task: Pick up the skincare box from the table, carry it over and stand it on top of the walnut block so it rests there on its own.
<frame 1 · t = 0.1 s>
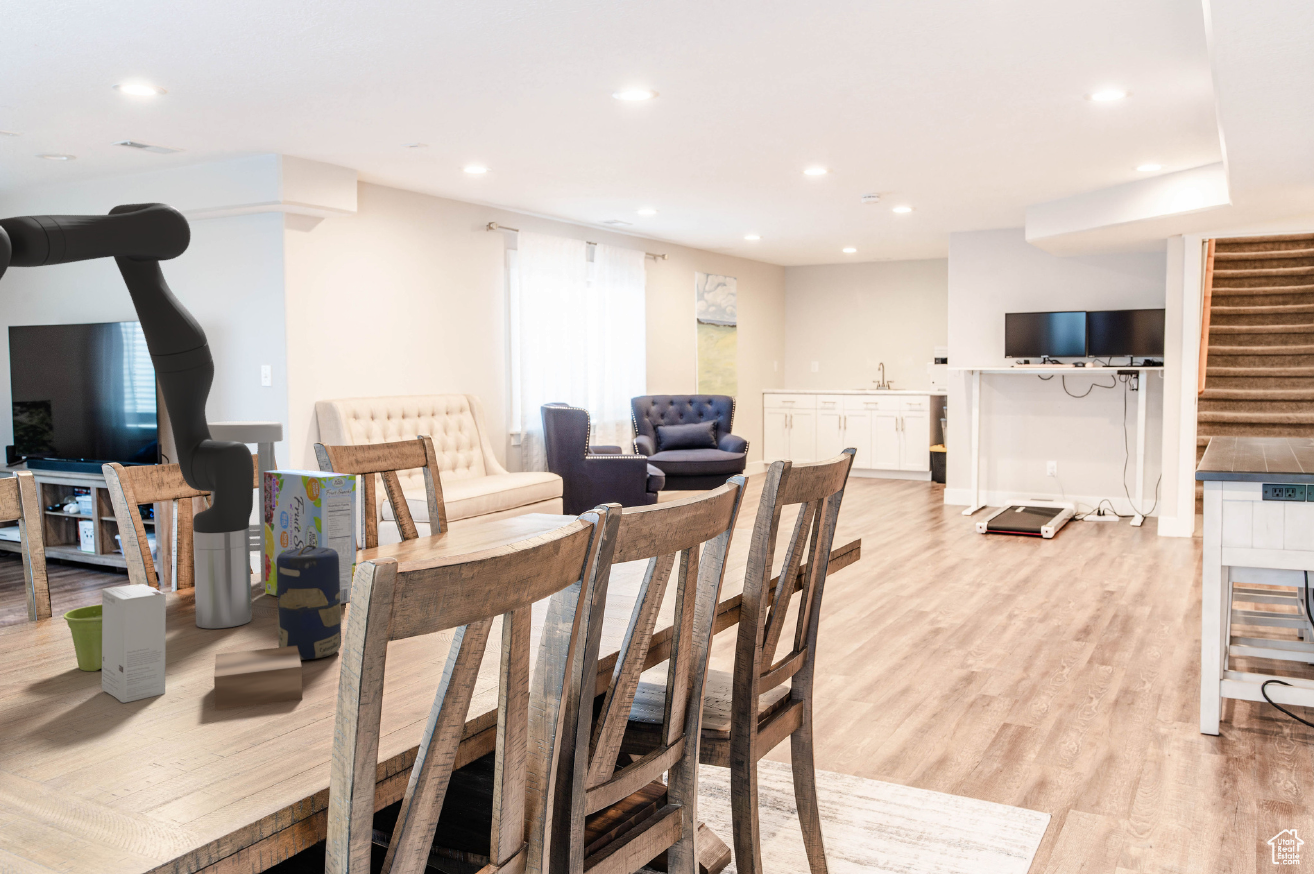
canister: (310, 656, 150), on the table
skincare box: (135, 693, 132), on the table
plant pot 2: (101, 667, 144), on the table
stool: (246, 585, 200), on the table
walnut block: (258, 694, 132), on the table
snack box: (311, 598, 189), on the table
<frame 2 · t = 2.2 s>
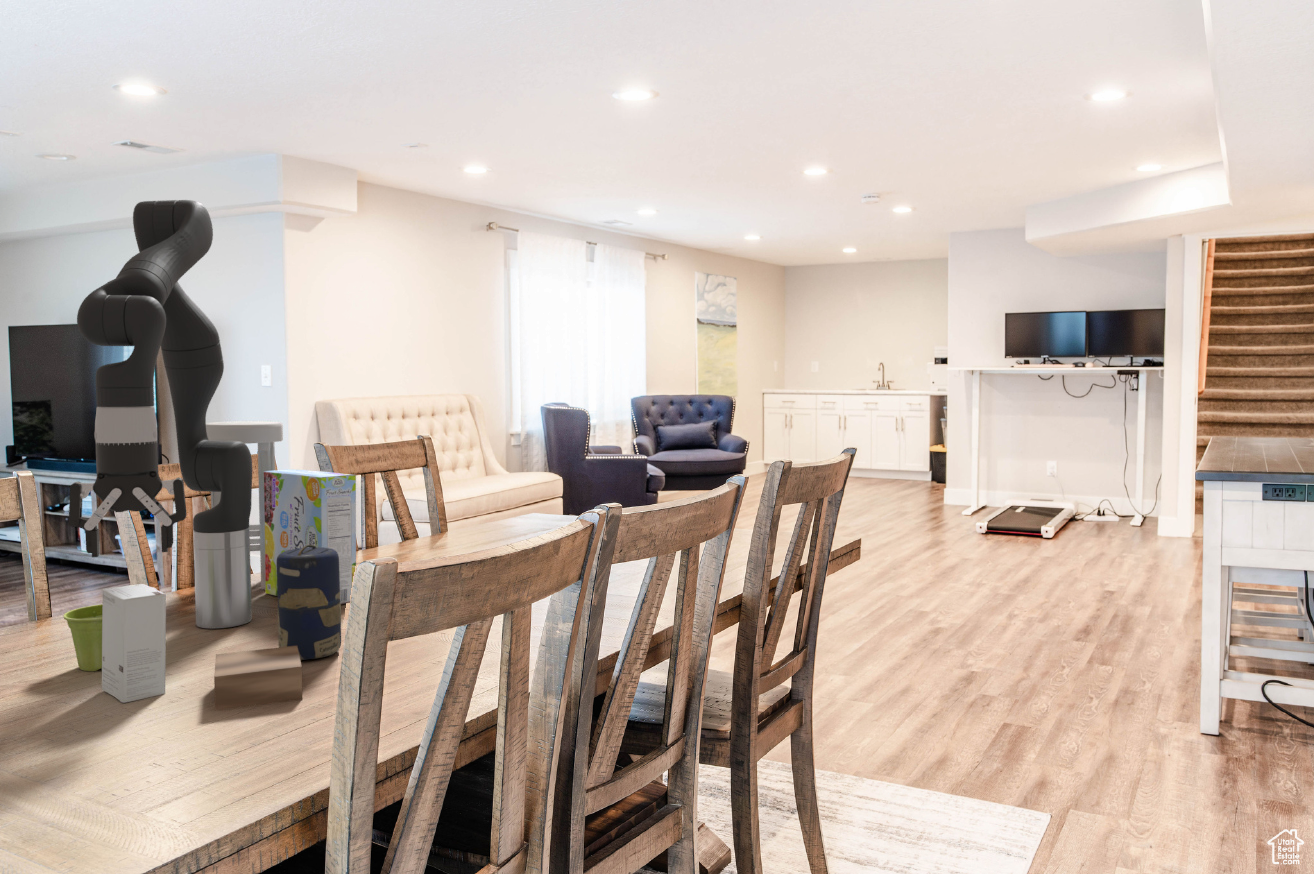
hand: (130, 553, 131), 20 cm above the table, tool pointing down, fingers open, 8 cm apart
nothing on the table moved.
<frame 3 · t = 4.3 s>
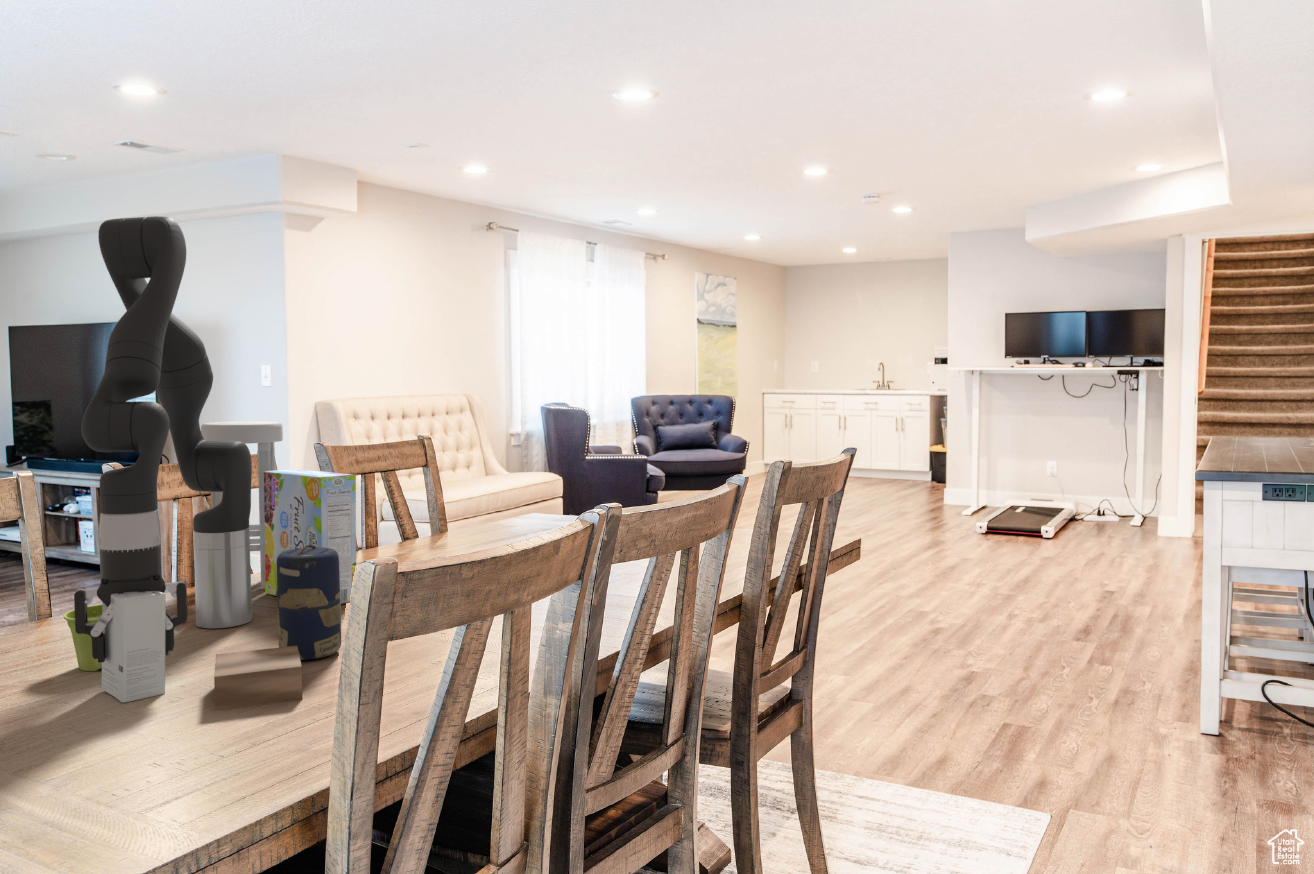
hand: (134, 657, 132), 5 cm above the table, tool pointing down, fingers closed on skincare box, 7 cm apart
skincare box: (135, 693, 132), on the table, touching gripper
everything else where it was.
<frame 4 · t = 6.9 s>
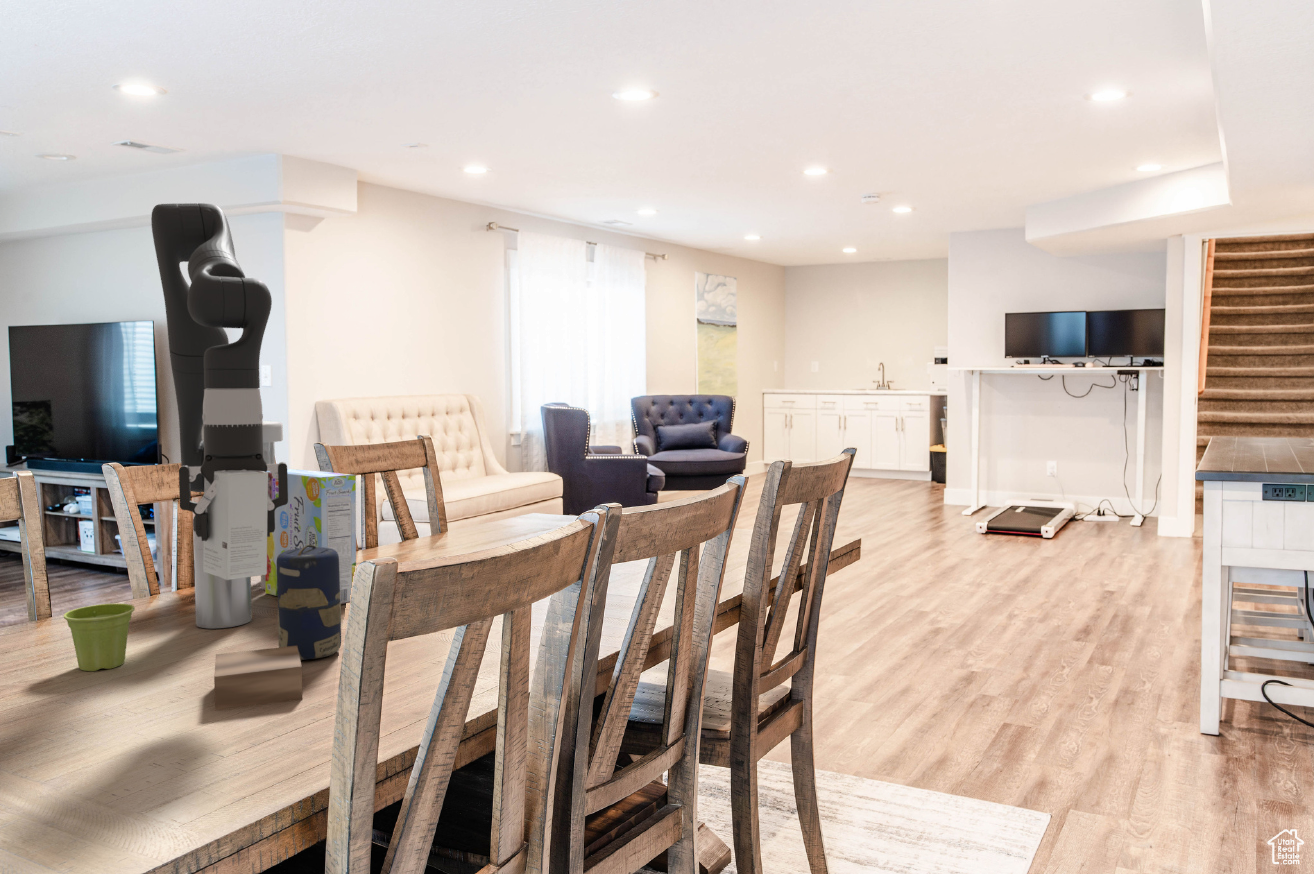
hand: (236, 537, 130), 22 cm above the table, tool pointing down, fingers closed on skincare box, 7 cm apart
skincare box: (236, 575, 130), point 17 cm above the table, touching gripper
everything else where it was.
when the fingers open (11 cm above the table, at t = 9.8 s): skincare box drops 1 cm, resting on walnut block.
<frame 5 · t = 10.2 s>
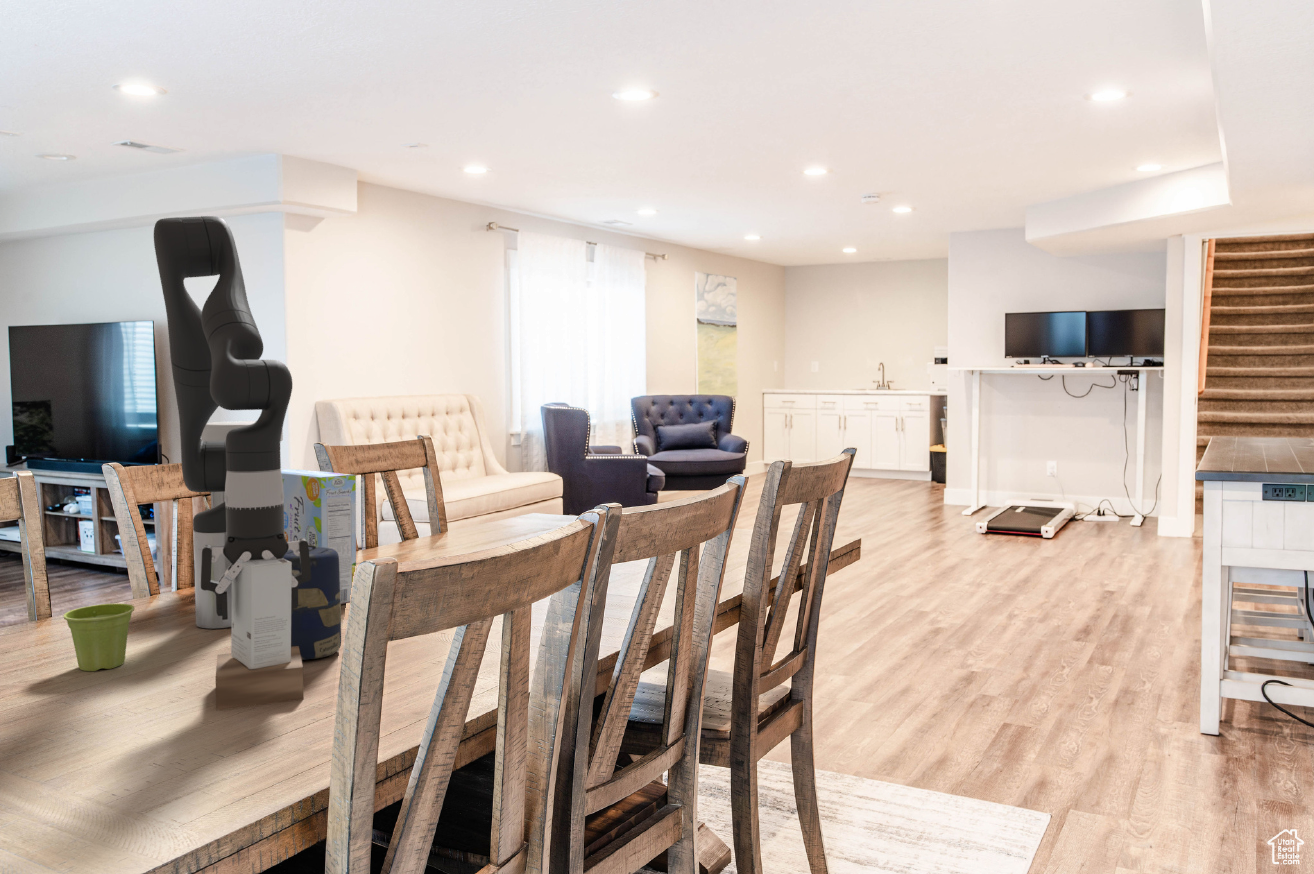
hand: (258, 615, 131), 11 cm above the table, tool pointing down, fingers open, 8 cm apart
skincare box: (262, 661, 132), point 4 cm above the table, touching walnut block
walnut block: (260, 695, 132), on the table, touching skincare box
everything else where it was.
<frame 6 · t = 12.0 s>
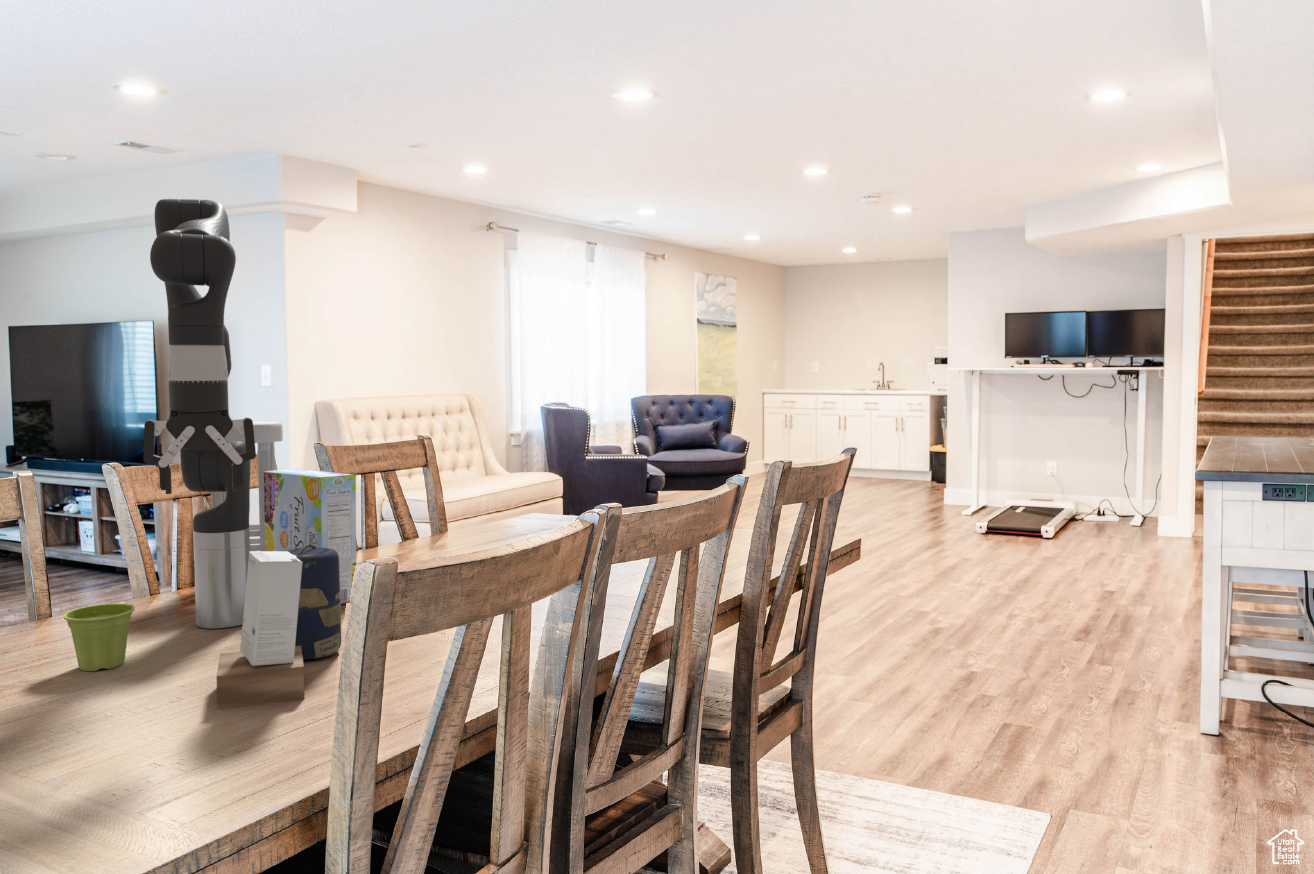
hand: (202, 491, 132), 28 cm above the table, tool pointing down, fingers open, 8 cm apart
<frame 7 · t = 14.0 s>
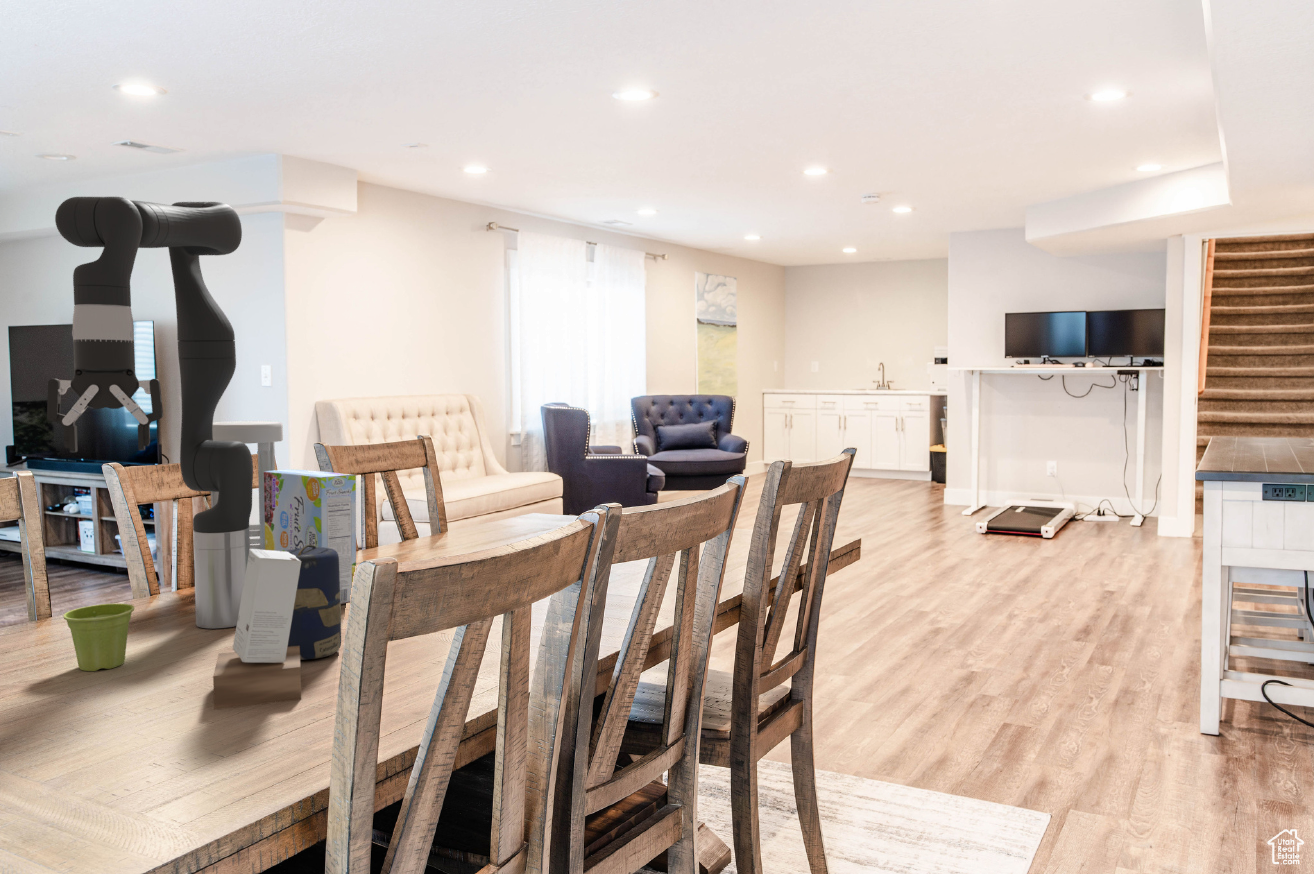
hand: (108, 450, 134), 34 cm above the table, tool pointing down, fingers open, 8 cm apart
skincare box: (259, 658, 132), point 5 cm above the table
walnut block: (259, 694, 133), on the table
everything else where it was.
at the end: skincare box 0.4 cm from the walnut block (horizontally); skincare box point 4.5 cm above the table; skincare box tilted 2° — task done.
